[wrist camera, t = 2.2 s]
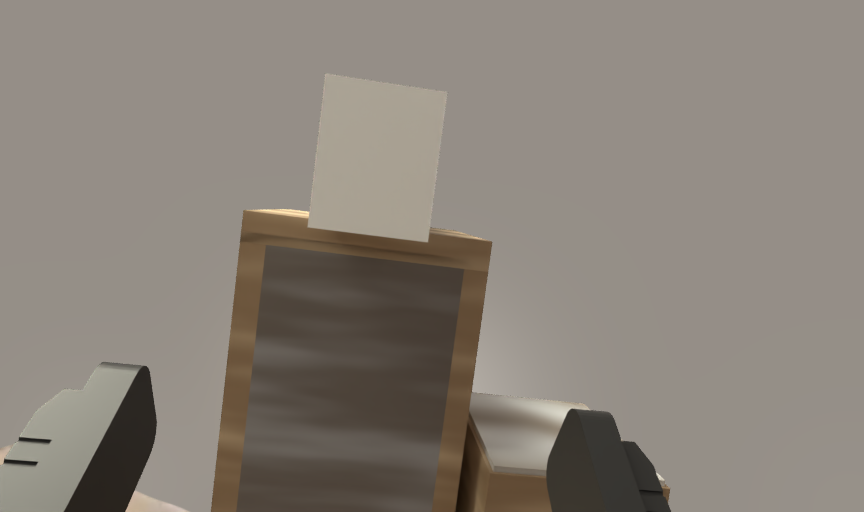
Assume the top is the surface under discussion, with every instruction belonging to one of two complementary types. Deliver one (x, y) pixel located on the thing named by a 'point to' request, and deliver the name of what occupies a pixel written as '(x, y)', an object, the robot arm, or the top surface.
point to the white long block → (376, 158)
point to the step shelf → (369, 380)
